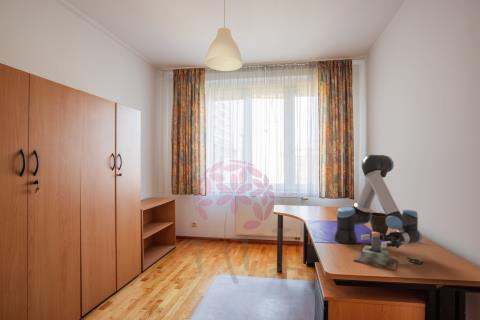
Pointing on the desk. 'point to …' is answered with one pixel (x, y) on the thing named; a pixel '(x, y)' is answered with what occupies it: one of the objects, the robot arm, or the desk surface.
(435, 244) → the desk surface
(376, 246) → the peg
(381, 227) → the plant pot
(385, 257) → the socket
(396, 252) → the desk surface
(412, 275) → the desk surface
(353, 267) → the desk surface
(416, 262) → the blender logo cutout
